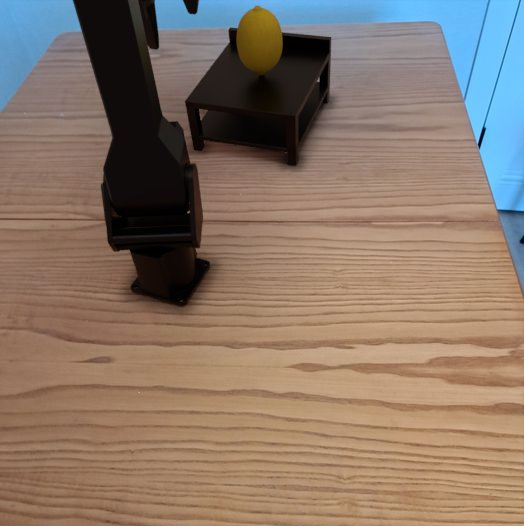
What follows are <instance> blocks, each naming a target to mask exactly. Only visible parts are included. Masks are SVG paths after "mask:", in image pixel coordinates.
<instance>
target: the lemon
mask: <svg viewBox="0 0 524 526" xmlns="http://www.w3.org/2000/svg"><path fill="white" fill-rule="evenodd" d="M237 28H238V29H237V39H236V41H237V49H238V54H239V57H240V59H241V61H242V63H243V64H244V65H245V66H246V67H247V68H248V69H249V70H251V71H253V72H257V73H258V74H259V75H264V74H265V73H266V72H267V71H269V70H271V69H272V68H273V67H274V66H275V65H276V64H277V63H278V61H279V59H280V57H281V53H282V46H283V40H282V28H281V25H280V22H279V20H278V18H277V17H276V15H275V14H274V13H273V12H272V11H270V10H269V9H267V8H264V7H262V6H261V5H255V6H254V7H253V8H251V9H249V10H247V11H246V12H245V13H244V14H243V15H242V17H241V18H240V21H239V22H238V26H237Z"/></svg>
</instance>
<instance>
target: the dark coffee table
mask: <svg viewBox="0 0 524 526" xmlns="http://www.w3.org/2000/svg"><path fill="white" fill-rule="evenodd" d="M237 29H238V27H229V28H228V29H227V31H228V38H229V40H228V41H229V42H228V43H227V45H226V46H225V48H224V49H223V50H222V51H221V53H220V54H219V55H218V57H217V58H216V60H215V61H214V62H213V63H212V64H211V66H210V67H209V68H208V70H207V72H205V74H204V75H203V76H202V78H201V79H200V80H199V82H198V83H197V85H195V87H194V88H193V90H192V91H191V92H190V94H189V95H188V96H187V98H186V99H185V100H184V103H185V104H184V105H185V110H186V116H187V120H188V121H187V122H188V127H189V131H190V138H191V142H192V149H193V151H196V152H203V150H204V149H205V147H206V143H205V141H206V142H211V143H218V144H225V145H232V146H238V147H245V148H251V149H253V148H254V149H257V150H258V149H259V150H265V151H272V152H278V153H285V154H286V165H288V166H294V167H296V166H297V165H298V163H299V161H300V154H299V152H300V147H301V145H302V143H303V141H304V139H305V137H306V135H307V133H308V131H309V129H310V128H311V125H312V123H313V121H314V119H315V118H316V116H317V113H318V111H319V109H320V108H321V106H322V103H323V104H324V103H325V104H328V103H329V101H330V97H331V95H330V94H331V93H330V92H331V91H330V90H331V63H332V60H331V59H332V36H325V35H314V34H302V33H293V32H282V31H281V32H282V40H283V46H282V53H281V57H280V59H279V61H278V63H277V64H276V65H275V66H274V67H273V68H272V69H271V70H269V71H267V72H266V73H265V74H264V75H259V74H258V73H257V72H253V71H251V70H249V69H248V68H247V67H246V66H245V65H244V64H243V63H242V61H241V59H240V57H239V54H238V49H237V41H236V39H237ZM318 80H319V81H318ZM200 110H203V111H206V112H205V114H204V115H203V116H202V118H201V111H200Z"/></svg>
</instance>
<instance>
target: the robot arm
mask: <svg viewBox="0 0 524 526" xmlns="http://www.w3.org/2000/svg"><path fill="white" fill-rule="evenodd" d="M182 2H183V4H184V7H185V9H186V11H187V13H188V14H189V15H197V14H198V11H199V3H200V0H182ZM72 3H73V6H74V9H75V13H76V17H77V20H78V23H79V28H80V30H81V34H82V37H83V40H84V44H85V48H86V50H87V51H86V52H87V55H88V58H89V61H90V64H91V65H90V66H91V68H92V72H93V74H94V75H93V76H94V79H95V81H96V85H97V88H98V92H99V95H100V100H101V102H102V105H103V110H104V113H105V116H106V119H107V123H108V127H109V131H110V133H111V140H110V144H109V148H108V151H107V154H106V157H105V160H104V164H103V167H102V172H103V175H102V182H101V184H100V191H101V200H102V208H103V216H104V222H105V227H106V239H107V240H106V241H107V243H108V245H109V247H110V248H111V250H112V251H113V252H114V253H115V252H117V253H118V252H120V251H129V253H130V256H131V259H132V262H133V266H134V268H135V271H136V275H137V277H136V278H135V279H134V281H133V282H132V283H131V284H130V286H129V287H130V291H131V292H132V293H134V294H138V295H141V296H144V297H148V298H151V299H154V300H158V301H160V302H163V303H164V302H165V303H168V304H171V305H175V306H178V307H184V306H186V305H187V304H188V302H189V300H190V299H191V297H192V296H193V295H194V293H195V291H196V290H197V289H198V287H199V285H200V284H201V282H202V281H203V279H204V278H205V276H206V275H207V273H208V271H209V270H210V268H211V262H210V261H209V260H207V259H203V258H199V257H197V256H198V252H197V249H201V242H202V232H203V223H204V212H203V205H202V195H201V186H200V178H199V177H200V176H199V170H198V167H197V163H195V162H192V163H191V158H190V155H189V154H190V153H189V149H188V145H187V140H186V137H185V130H184V128H183V127H182V124H180V122H179V121H178V120H171V121H169V120H168V119H167V118H166V116H164V115H163V111H162V107H161V103H160V98H159V93H158V87H157V83H156V78H155V74H154V70H153V69H154V68H153V64H152V60H151V56H150V54H151V53H150V51H149V49H151V50H155V51H156V50H159V48H160V37H159V35H160V34H159V27H158V19H157V11H156V10H157V9H156V0H72Z"/></svg>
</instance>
